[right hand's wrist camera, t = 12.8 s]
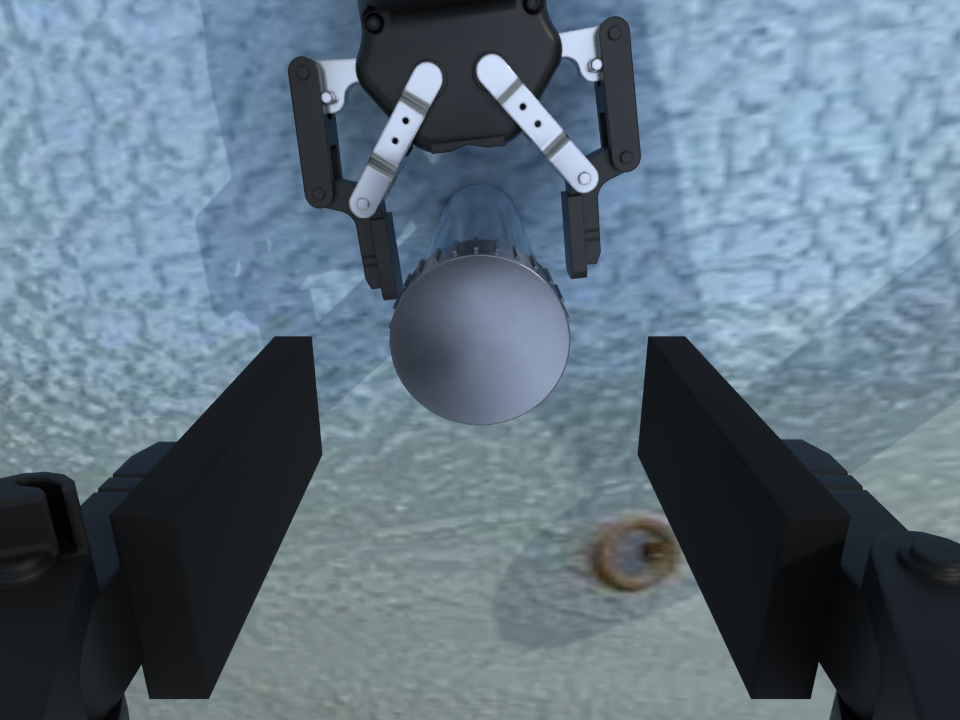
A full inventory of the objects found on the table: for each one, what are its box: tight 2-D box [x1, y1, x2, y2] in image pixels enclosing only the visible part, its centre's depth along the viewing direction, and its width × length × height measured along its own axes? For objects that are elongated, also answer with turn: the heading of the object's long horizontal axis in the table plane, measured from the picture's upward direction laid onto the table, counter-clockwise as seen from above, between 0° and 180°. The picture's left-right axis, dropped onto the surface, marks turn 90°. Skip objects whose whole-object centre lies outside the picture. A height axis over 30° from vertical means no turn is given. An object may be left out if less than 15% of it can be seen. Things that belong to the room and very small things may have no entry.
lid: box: [389, 237, 571, 425], centre depth 18 cm, size 5×5×2 cm
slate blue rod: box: [424, 184, 536, 260], centre depth 27 cm, size 4×4×20 cm
